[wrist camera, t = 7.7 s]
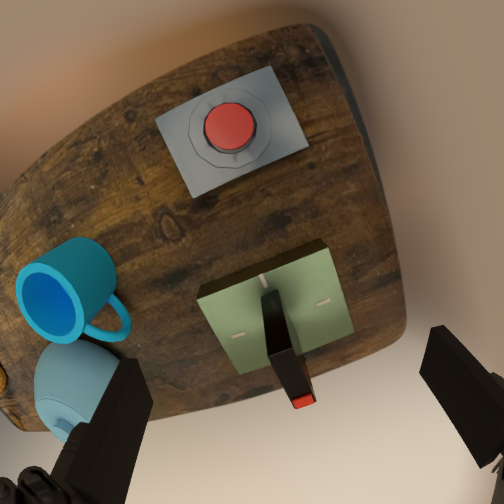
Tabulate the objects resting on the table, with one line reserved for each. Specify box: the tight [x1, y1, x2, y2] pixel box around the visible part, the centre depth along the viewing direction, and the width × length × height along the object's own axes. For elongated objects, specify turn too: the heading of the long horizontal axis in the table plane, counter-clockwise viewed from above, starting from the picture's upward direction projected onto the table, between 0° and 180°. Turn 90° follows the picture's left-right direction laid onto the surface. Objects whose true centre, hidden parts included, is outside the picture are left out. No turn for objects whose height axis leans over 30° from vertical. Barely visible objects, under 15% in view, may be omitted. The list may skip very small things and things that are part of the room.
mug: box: [16, 237, 132, 344], centre depth 26 cm, size 12×8×8 cm
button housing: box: [154, 66, 309, 199], centre depth 24 cm, size 11×8×4 cm
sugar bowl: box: [34, 339, 120, 443], centre depth 29 cm, size 15×15×12 cm
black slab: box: [260, 290, 316, 409], centre depth 24 cm, size 6×2×9 cm, turn 23°
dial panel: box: [196, 239, 354, 375], centre depth 30 cm, size 13×10×3 cm
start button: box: [205, 103, 254, 150], centre depth 22 cm, size 4×4×2 cm
